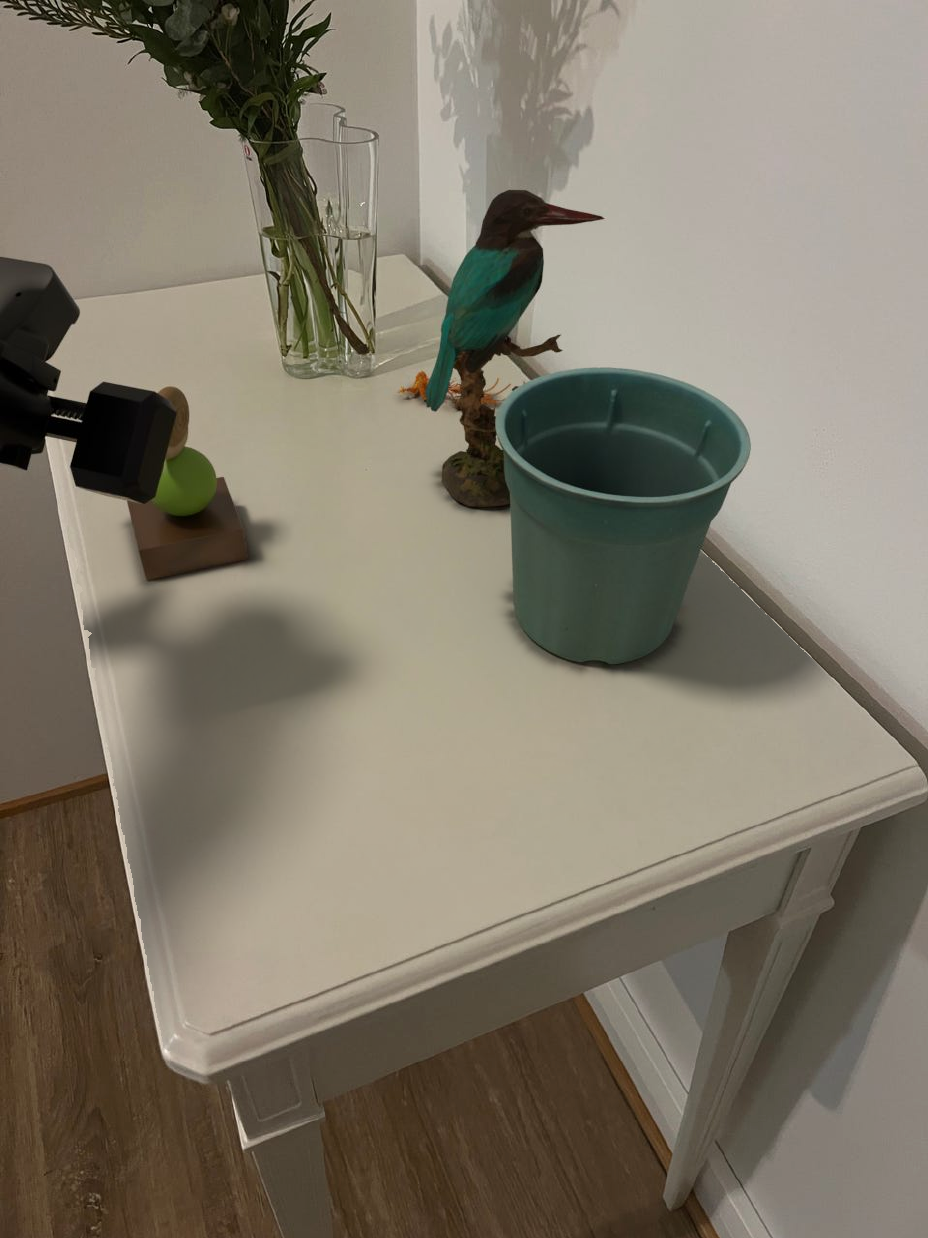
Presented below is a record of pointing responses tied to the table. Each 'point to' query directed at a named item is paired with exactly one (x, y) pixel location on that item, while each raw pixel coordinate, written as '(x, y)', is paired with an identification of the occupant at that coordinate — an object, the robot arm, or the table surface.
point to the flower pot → (611, 503)
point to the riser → (188, 536)
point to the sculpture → (490, 333)
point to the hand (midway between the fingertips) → (100, 457)
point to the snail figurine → (183, 467)
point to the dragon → (423, 381)
